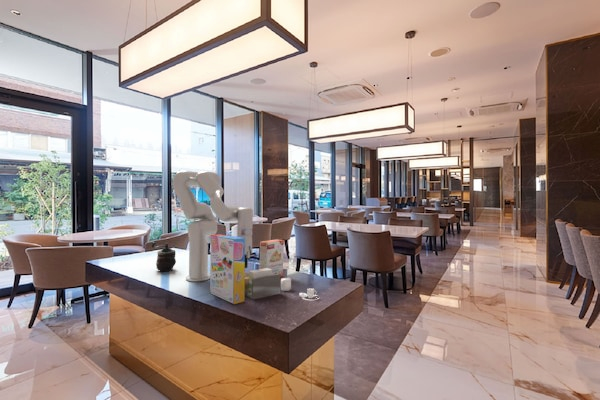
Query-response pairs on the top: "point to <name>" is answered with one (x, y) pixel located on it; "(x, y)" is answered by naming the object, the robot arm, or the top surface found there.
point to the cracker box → (272, 256)
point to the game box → (227, 268)
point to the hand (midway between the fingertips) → (243, 267)
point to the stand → (262, 286)
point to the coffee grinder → (165, 258)
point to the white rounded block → (285, 284)
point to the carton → (258, 275)
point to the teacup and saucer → (308, 294)
